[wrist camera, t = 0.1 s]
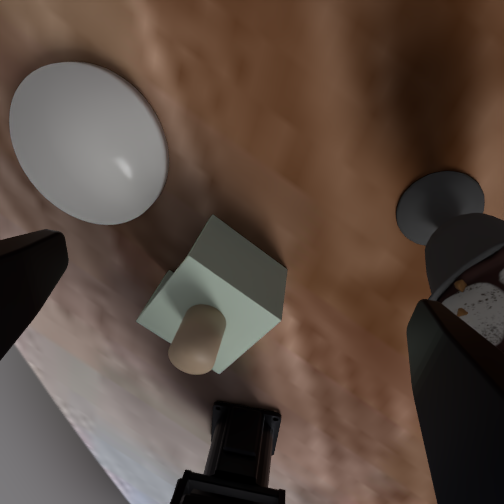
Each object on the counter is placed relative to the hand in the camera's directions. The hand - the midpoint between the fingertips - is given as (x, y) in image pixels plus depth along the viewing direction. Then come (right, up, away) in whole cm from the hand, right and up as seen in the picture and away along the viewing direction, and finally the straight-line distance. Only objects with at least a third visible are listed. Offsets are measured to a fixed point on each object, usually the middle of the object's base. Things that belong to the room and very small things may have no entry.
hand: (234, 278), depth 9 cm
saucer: (-10, +7, +14) cm, 19 cm away
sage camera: (-2, -1, +18) cm, 18 cm away
